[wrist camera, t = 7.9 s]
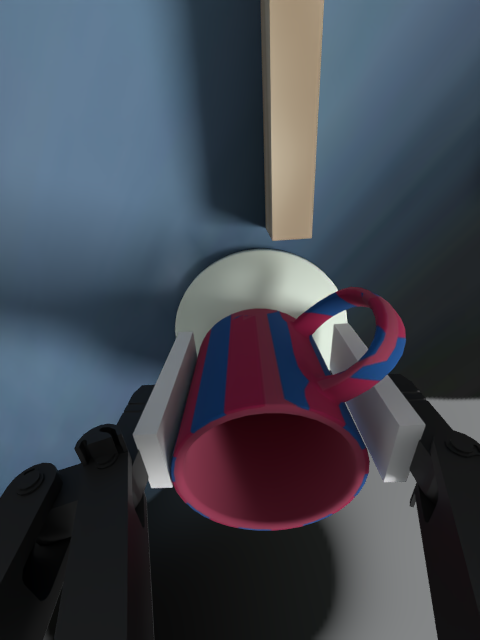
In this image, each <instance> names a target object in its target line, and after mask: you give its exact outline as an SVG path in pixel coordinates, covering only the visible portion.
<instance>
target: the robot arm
mask: <svg viewBox="0 0 480 640" xmlns="http://www.w3.org/2000/svg"><path fill="white" fill-rule="evenodd" d="M367 351H368V348H367V347H366V346H365V344H364V343H363V342H362V340H361V339H360V338H359V336H358V335H357V334H356V332H355V331H354V330H353V328H352V327H351V326H350V324H349V323H344V324H334V327H333V337H332V346H331V356H330V366H329V367H330V369H331V371H332V373H333V375H334V374H337V373H339V372H342V371H344V370H346V369H348V368H349V367H351V366H352V365H353V364H355V363H356V362H358V361H359V359H360V358H361V357H362V356H363V355H364V354H365V353H366V352H367ZM196 361H197V352H196V346H195V340H194V334H193V331H190V332H179V333H178V336H177V338H176V340H175V342H174V344H173V347H172V349H171V351H170V353H169V355H168V358H167V360H166V362H165V364H164V366H163V369H162V371H161V373H160V375H159V378H158V380H157V382H156V384H155V385H142V386H141V387H140V388H139V389H138V390H137V391H136V392H135V393H134V394H133V395H132V397H131V399H130V401H129V403H128V405H127V406H126V408H125V410H124V413H123V414H122V416H121V417H120V419H119V421H118V423H117V425H114V424H104V425H100V426H97V427H95V428H93V429H91V430H89V431H88V432H87V433H85V434H84V435H83V436H82V437H81V438H80V439H79V440H78V442H77V444H76V446H75V448H74V449H75V451H76V453H77V455H78V457H79V459H80V461H81V463H80V464H78V465H74V466H71V467H68V468H65V469H62V470H59V471H58V470H57V468H56V467H55V466H54V465H53V464H51V463H41V464H37V465H34V466H32V467H30V468H28V469H26V470H25V471H23V472H22V473H21V474H19V475H18V476H17V477H16V478H15V479H14V480H13V481H12V482H11V483H10V484H9V486H8V487H7V488H6V490H5V491H4V493H3V494H2V496H1V497H0V640H43V638H44V636H45V633H46V630H47V627H48V624H49V622H50V619H51V616H52V613H53V610H54V608H55V605H56V602H57V599H58V596H59V594H60V591H61V588H62V585H63V590H62V596H61V602H60V608H59V614H58V619H57V625H56V631H55V637H54V640H154V628H153V612H152V611H153V609H152V591H151V573H150V557H149V556H150V555H149V537H148V520H147V501H146V496H145V493H144V490H145V487H146V484H147V481H148V480H149V482H150V485H151V488H167V487H168V488H171V487H173V483H172V479H171V473H170V468H171V459H172V455H173V451H174V447H175V443H176V439H177V435H178V432H179V428H180V424H181V420H182V416H183V412H184V408H185V404H186V400H187V396H188V392H189V388H190V385H191V381H192V377H193V373H194V369H195V365H196ZM346 403H347V405H348V407H349V409H350V412H351V414H352V416H353V418H354V420H355V422H356V424H357V426H358V429H359V431H360V433H361V435H362V437H363V439H364V441H365V443H366V446H367V447H368V450H369V452H370V454H371V456H372V458H373V460H374V463H375V465H376V467H377V469H378V471H379V473H380V475H381V477H382V480H383V482H406V481H407V478H408V475H409V472H410V471H411V473H412V475H413V476H414V478H415V480H416V482H417V483H416V486H415V488H414V491H413V494H412V497H411V499H410V506H411V507H414V505H415V502H416V504H417V510H418V517H419V523H420V529H421V536H422V542H423V548H424V555H425V560H426V567H427V573H428V579H429V585H430V592H431V599H432V605H433V611H434V618H435V624H436V630H437V637H438V640H480V444H479V443H478V442H477V441H475V440H474V439H472V438H471V437H469V436H467V435H465V434H463V433H460V432H457V431H453V430H452V429H451V427H450V426H449V425H448V424H447V423H446V422H445V420H444V419H443V418H442V417H441V416H440V414H439V413H438V412H437V411H436V410H435V409H434V407H433V406H432V405H431V404H430V403H429V402H428V401H426V398H425V397H424V396H423V395H422V393H420V392H419V390H418V389H417V388H416V386H415V385H414V384H413V383H412V382H411V381H410V380H408V379H407V378H405V377H404V376H402V375H401V374H387V375H386V376H385V377H384V378H383V379H382V380H381V381H380V382H379V383H377V384H376V385H375V386H373V387H372V388H371V389H369V390H368V391H366V392H364V393H362V394H360V395H359V396H357V397H355V398H353V399H351V400H349V401H346ZM63 582H64V584H63Z"/></svg>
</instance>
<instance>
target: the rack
mask: <svg viewBox="0 0 480 640" xmlns="http://www.w3.org/2000/svg"><path fill="white" fill-rule="evenodd" d="M260 1H261V44H262V87H263V130H264V173H265V216H266V229H267V231H268V233H269V235H270V237H271V239H272V241H276V240H290V239H305V238H312V221H313V202H314V183H315V163H316V144H317V125H318V106H319V86H320V67H321V48H322V29H323V9H324V0H260Z"/></svg>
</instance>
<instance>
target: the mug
mask: <svg viewBox="0 0 480 640" xmlns="http://www.w3.org/2000/svg"><path fill="white" fill-rule="evenodd" d="M358 306H364V307H369V308H371V309H372V310H373V313H374V315H375V318H376V332H375V336H374V340H373V342H372V343H371V345H370V347H369V349H368V351H367V352H366V353H365V354H364V355H363V356H362V357H361V358H360V359H359V361H358V362H356V363H355V364H353V365H352V366H351V367H349V368H348V369H346V370H344V371H342V372H339V373H337V374H334V375H331V374H330V371H329V369H328V367H327V365H326V363H325V361H324V359H323V357H322V355H321V353H320V351H319V349H318V347H317V344H316V342H315V340H314V338H313V337H312V334H313V333H314V332H315V331H316V330H317V329H318V328H319V327H320V326H321V325H322V324H323V323H324V322H326V321H327V320H328V319H330V318H331V317H333V316H334V315H336V314H338V313H340V312H342V311H344V310H347V309H349V308H351V307H358ZM405 342H406V337H405V328H404V325H403V323H402V320H401V318H400V317H399V315H398V314H397V313H396V311H395V310H394V309H393V308H392V306H391V305H390V304H389V303H388V302H387V301H386V300H384V299H383V298H382V297H380V296H379V295H377V294H375V293H373V292H371V291H369V290H366V289H363V288H359V287H349V288H345V289H342V290H339V291H337V292H335V293H332V294H330V295H329V296H327V297H325V298H324V299H322V300H320V301H319V302H317V303H316V304H314V305H313V306H312V307H310V308H309V309H308V310H306V311H305V312H304V313H303V314H301V315H300V316H299V317H298V318H297V319H296V318H294V317H292V316H290V315H288V314H286V313H283V312H280V311H277V310H272V309H260V308H254V309H248V310H242V311H239V312H236V313H233V314H231V315H229V316H227V317H225V318H223V319H222V320H220V321H219V322H218V323H216V324H215V325H214V326H213V327H212V328H211V329H210V330H209V331H208V333H207V334H206V336H205V337H204V339H203V341H202V344H201V346H200V349H199V353H198V357H197V361H196V365H195V369H194V373H193V377H192V381H191V385H190V388H189V392H188V396H187V400H186V404H185V408H184V412H183V416H182V420H181V424H180V428H179V432H178V435H177V439H176V443H175V447H174V451H173V455H172V459H171V468H170V473H171V479H172V483H173V485H174V487H175V489H176V491H177V493H178V494H179V496H180V497H181V498H182V499H183V501H184V502H185V503H186V504H188V505H189V506H190V507H191V508H192V509H193V510H195V511H196V512H198V513H200V514H201V515H203V516H204V517H206V518H209V519H211V520H213V521H215V522H218V523H221V524H224V525H227V526H231V527H236V528H241V529H249V530H283V529H290V528H295V527H300V526H304V525H307V524H311V523H315V522H317V521H319V520H322V519H324V518H326V517H329V516H330V515H332V514H334V513H336V512H338V511H339V510H340V509H342V508H343V507H344V506H346V505H347V504H348V503H350V502H351V501H352V500H353V498H354V497H355V496H356V495H357V494H358V493H359V492H360V490H361V489H362V487H363V485H364V484H365V482H366V478H367V476H368V473H369V462H370V461H369V456H368V452H367V448H366V446H365V444H364V442H363V440H362V438H361V436H360V434H359V432H358V430H357V428H356V425H355V423H354V421H353V419H352V417H351V415H350V413H349V411H348V409H347V407H346V405H345V403H344V402H346V401H349V400H351V399H353V398H355V397H357V396H359V395H360V394H362V393H364V392H366V391H368V390H369V389H371V388H372V387H373V386H375V385H376V384H377V383H379V382H380V381H381V380H382V379H383V378H384V377H385V376H386V375H387V374H388V373H389V372H390V371H391V370H392V369H393V368H394V367H395V365H396V364H397V362H398V361H399V359H400V357H401V356H402V354H403V350H404V346H405Z"/></svg>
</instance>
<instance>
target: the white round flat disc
mask: <svg viewBox="0 0 480 640" xmlns="http://www.w3.org/2000/svg"><path fill="white" fill-rule="evenodd" d="M337 291H338V290H337V288H336V287H335V285H334V283H333V282H332V281H331V280H330V279H329V278H328V277H327V276H326V274H325V273H324V272H323V271H321V270H320V269H319V268H318V267H317V266H315V265H314V264H313V263H311V262H309V261H308V260H306V259H305V258H302V257H300V256H298V255H295V254H293V253H289V252H286V251H282V250H275V249H251V250H244V251H240V252H236V253H233V254H230V255H228V256H225V257H223V258H221V259H219V260H217V261H216V262H214V263H212V264H211V265H209V266H208V267H207V268H205V269H204V270H203V271H202V272H201V273H200V274H199V275H198V276H197V277H196V278H195V279H194V280H193V282H192V283H191V284H190V286H189V287H188V289H187V290H186V292H185V294H184V296H183V298H182V300H181V302H180V305H179V308H178V311H177V315H176V321H175V335H176V338H177V336H178V333H179V332H190V331H193V334H194V340H195V346H196V352H197V357H198V353H199V349H200V346H201V344H202V341H203V339H204V337H205V336H206V334H207V333H208V331H209V330H210V329H211V328H212V327H213V326H214V325H215V324H216V323H218V322H219V321H220V320H222V319H223V318H225V317H227V316H229V315H231V314H233V313H236V312H239V311H242V310H248V309H254V308H260V309H272V310H277V311H280V312H283V313H286V314H288V315H290V316H292V317H294V318H296V319H297V318H298V317H299V316H300V315H301V314H303V313H304V312H305V311H306V310H308V309H309V308H310V307H312V306H313V305H314V304H316V303H317V302H319V301H320V300H322V299H324V298H325V297H327V296H329V295H330V294H332V293H335V292H337ZM344 323H347V314H346V310H344V311H342V312H340V313H338V314H336V315H334V316H333V317H331V318H330V319H328V320H327V321H326V322H324V323H323V324H322V325H321V326H320V327H319V328H318V329H317V330H316V331H315V332H314V333H313V334H312V337H313V338H314V340H315V342H316V344H317V347H318V349H319V351H320V353H321V355H322V357H323V359H324V361H325V363H326V365H327V367H328V369H329V370H330V367H329V366H330V356H331V346H332V337H333V327H334V324H344Z"/></svg>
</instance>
